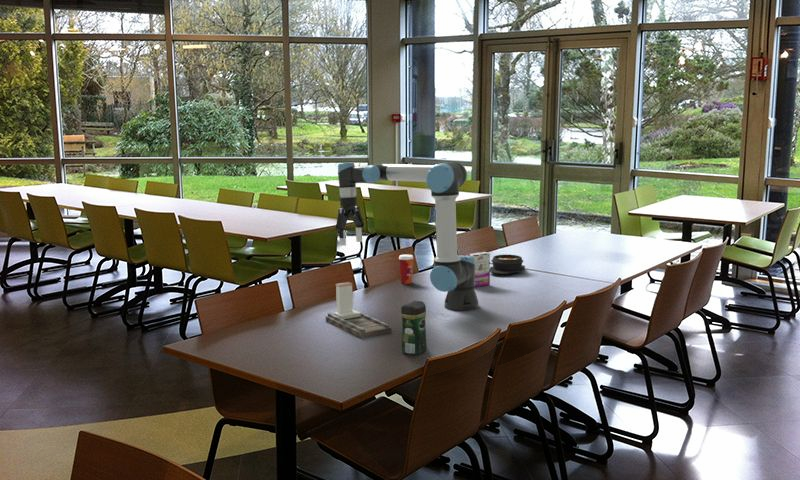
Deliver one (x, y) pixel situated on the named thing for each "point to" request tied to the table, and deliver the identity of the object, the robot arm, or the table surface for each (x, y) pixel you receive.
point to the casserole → (507, 264)
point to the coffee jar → (413, 328)
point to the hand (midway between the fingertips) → (351, 243)
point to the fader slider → (345, 301)
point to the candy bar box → (481, 268)
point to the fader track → (360, 325)
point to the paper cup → (406, 268)
